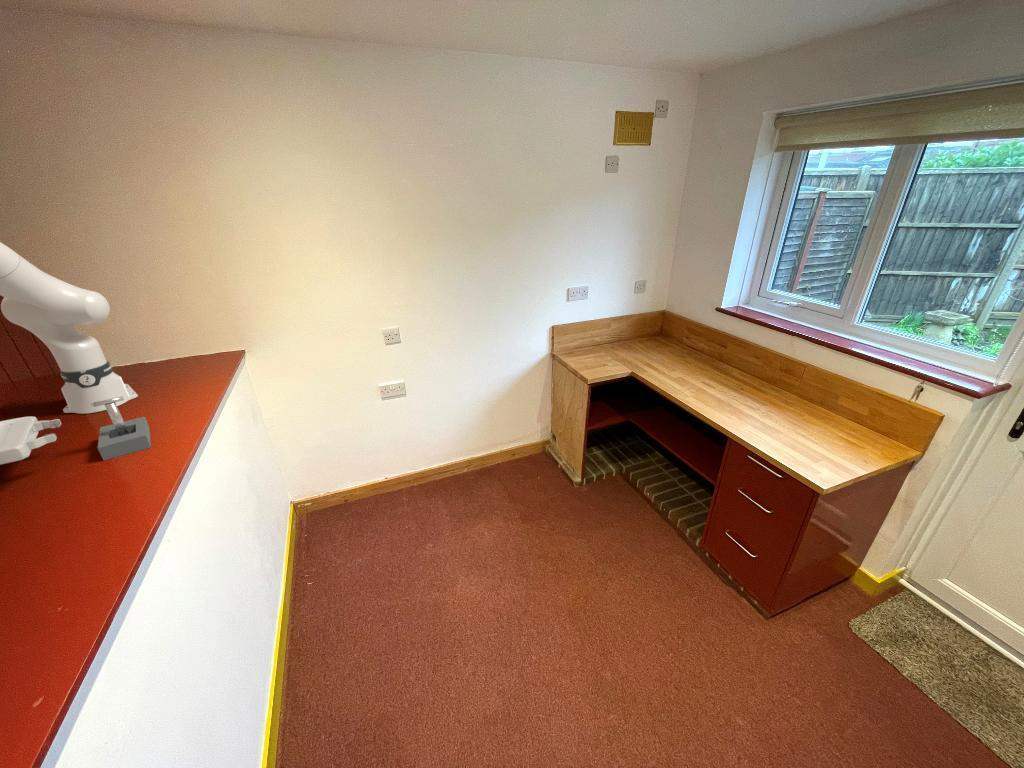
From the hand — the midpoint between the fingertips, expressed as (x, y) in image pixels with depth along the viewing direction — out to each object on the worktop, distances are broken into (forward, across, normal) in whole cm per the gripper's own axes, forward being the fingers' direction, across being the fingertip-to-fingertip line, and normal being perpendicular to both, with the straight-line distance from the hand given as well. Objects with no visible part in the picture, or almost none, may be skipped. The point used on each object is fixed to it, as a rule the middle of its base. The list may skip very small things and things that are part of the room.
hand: (58, 429), depth 109 cm
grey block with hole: (+12, 0, +9) cm, 15 cm away
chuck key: (+11, 0, +9) cm, 15 cm away
